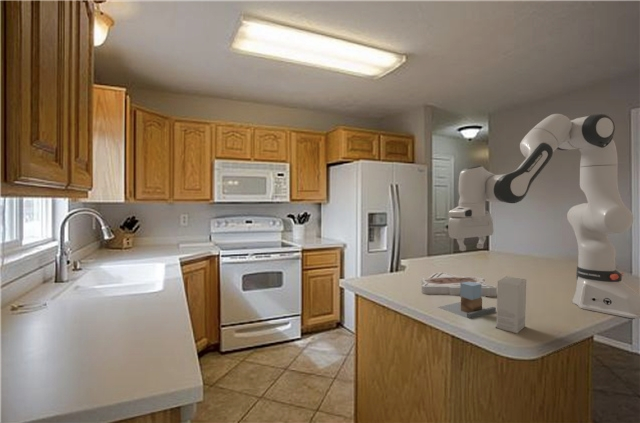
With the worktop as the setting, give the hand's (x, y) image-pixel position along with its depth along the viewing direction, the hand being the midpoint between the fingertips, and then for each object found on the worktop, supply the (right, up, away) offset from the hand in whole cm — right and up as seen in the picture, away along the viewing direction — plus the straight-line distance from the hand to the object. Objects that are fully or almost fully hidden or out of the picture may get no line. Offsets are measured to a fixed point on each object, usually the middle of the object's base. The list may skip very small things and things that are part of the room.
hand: (471, 249), depth 124 cm
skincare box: (+6, -24, -14) cm, 28 cm away
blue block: (0, -17, 0) cm, 17 cm away
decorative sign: (+6, -22, +35) cm, 42 cm away
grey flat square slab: (-1, -23, +2) cm, 23 cm away
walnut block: (0, -22, 0) cm, 22 cm away
